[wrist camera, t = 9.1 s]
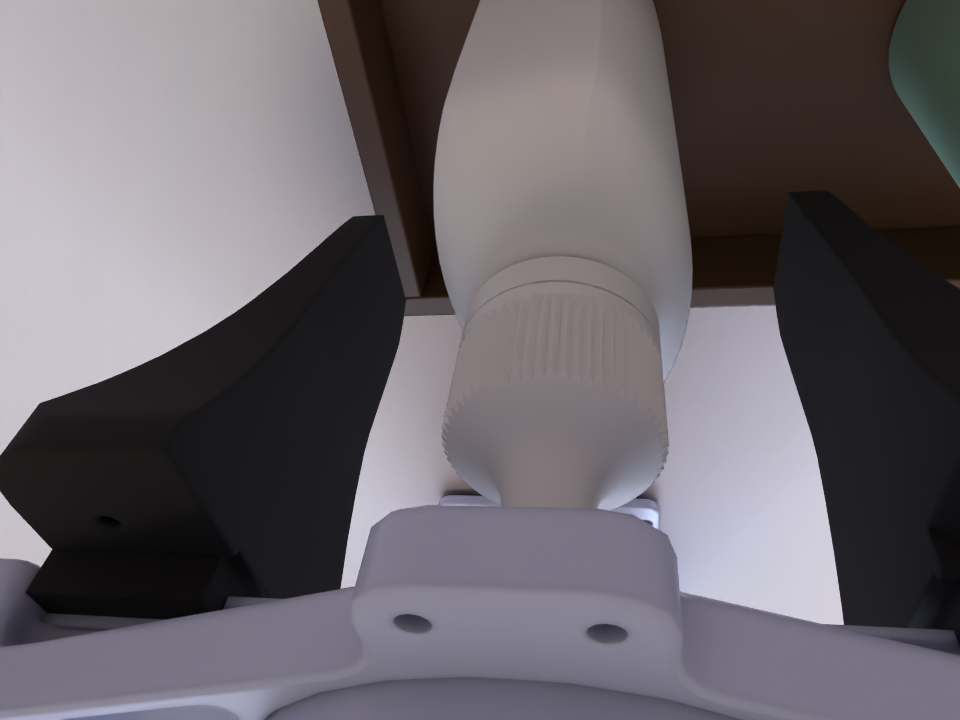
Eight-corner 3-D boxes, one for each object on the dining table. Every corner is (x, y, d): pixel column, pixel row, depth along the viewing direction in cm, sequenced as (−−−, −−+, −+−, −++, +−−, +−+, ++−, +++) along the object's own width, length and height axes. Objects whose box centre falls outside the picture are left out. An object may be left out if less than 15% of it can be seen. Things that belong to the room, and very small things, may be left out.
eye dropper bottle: (451, 152, 17) (295, 642, 9) (515, -119, 13) (350, 278, 5) (628, 202, 18) (648, 723, 9) (740, -48, 14) (967, 445, 5)
